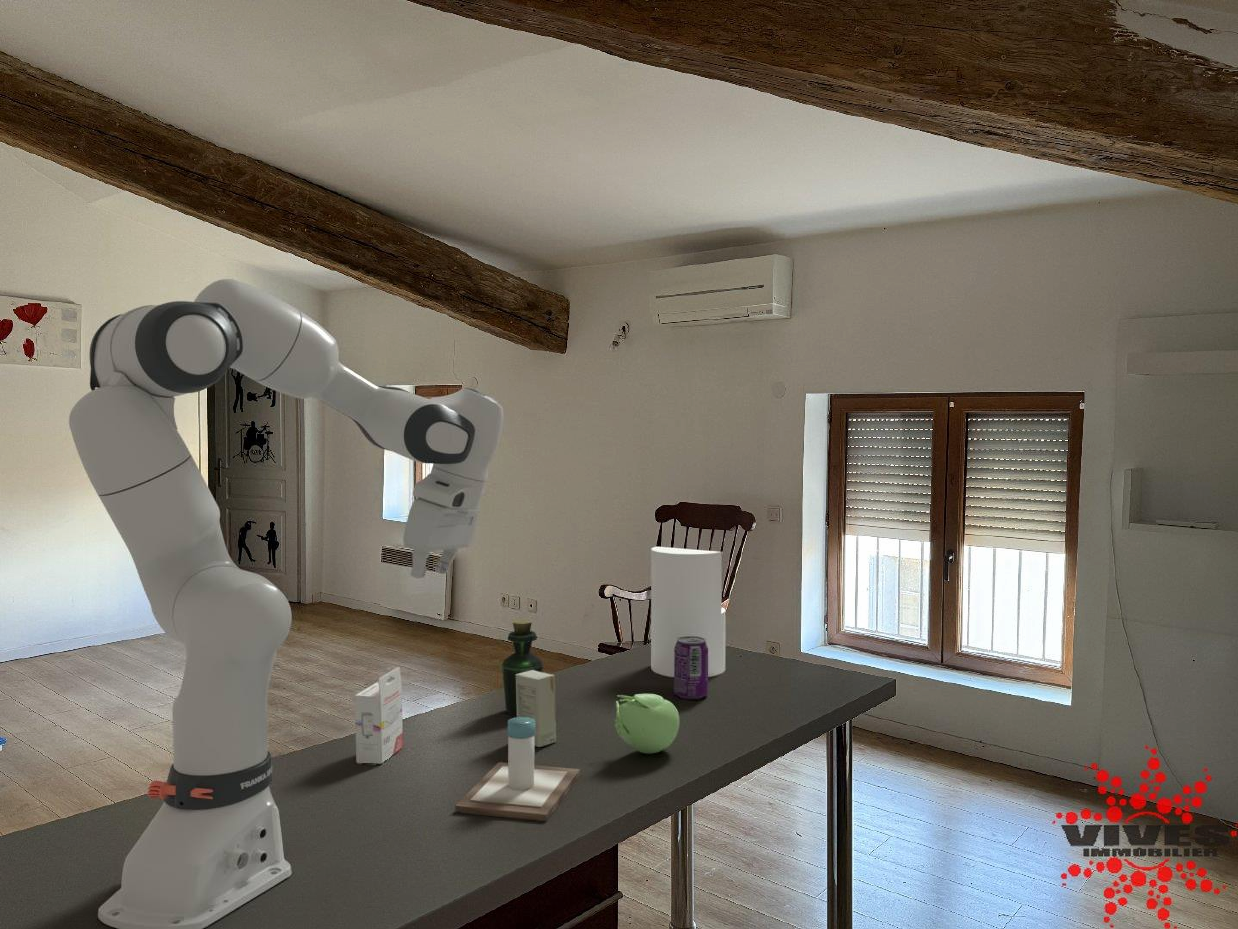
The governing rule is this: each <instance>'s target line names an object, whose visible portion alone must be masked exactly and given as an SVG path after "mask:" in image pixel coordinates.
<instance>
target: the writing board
mask: <svg viewBox="0 0 1238 929" xmlns="http://www.w3.org/2000/svg"><path fill="white" fill-rule="evenodd" d="M580 776H581V769H580V768H579V769H578V768H568V767H559V766H545V765H535V764H534V786H533V787H532V788H530V789H527V790H514V789H511V788H509V787H508V762H500V761H498V762H497V763H496V764H495V765H494V766H493V767H492V768H491V769H490V770H489V771H488V772H487V773H486V774H485V775H484V776H483V777H482V778H481V779H480V781H478V782H477V783H476V784H475V785H474V786H473V787H472V789H470V791H469V792H467V794H465V795H464V796H463V798H461V799H460V800H459V801H458V803H457V804H455V806H454V807H455V810H454V812H455V813H457V812H460V813H459V814H467V815H477V816H488V817H498V818H500V817H501V818H510V819H517V820H527V821H528V820H531V821H538V822H539V821H541V822H547V821H548V820H549V819H550V818H551V816H552V815H553V813H554V812H555V811H556V809H557V808H558V807H559V805H560V804H561V802H562V801H563V799H564V798H565V797H566V795H567V794H568V793H569V792H570V789H572V787H573V786H574V785H575V783H576V782H577V780H578V779H579V778H580ZM468 813H469V814H468Z"/></svg>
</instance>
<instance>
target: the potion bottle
mask: <svg viewBox="0 0 1238 929" xmlns="http://www.w3.org/2000/svg"><path fill="white" fill-rule="evenodd" d="M532 623H533V621H532V620H530V619H516V620H512V625H513V629H514V630H513V631H510V632H508V636H507V641H508V642H512V645H513V648H514V652H513V653H512V654H509V656H507V657H506V658H504V659H503V662H502V663H501V668H502V670H501V671H502V681H503V690H504V700H505V702H504V703H505V711H506V713H507V714H508V715H510V716H515V717H517V706H516V674H519V673H523V672H527V671H531V670H535V671H539V672H543V671H544V670H543V668H544V663H543V661H542V659H541V658H540V657H539V656H537V655H536V654H534V653H532V652H530V651H531V648H532V645H533V644H532V643H533V642H534V641H536V640H537V639H538V636H537V633H536V632H535V631H533V630H532V629H531V628H532ZM543 673H544V672H543Z"/></svg>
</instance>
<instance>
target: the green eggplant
mask: <svg viewBox="0 0 1238 929" xmlns="http://www.w3.org/2000/svg"><path fill="white" fill-rule="evenodd" d="M616 696H617V698H621V699H619V700H616V701H615V708H616V719H614V721H615V723H614V728H615V730H616V731H617V734H618V735H619V737H620V738H621V739H622V740H623V741H624V742H626V744H628V745H630V746H633V748H634V750H636V751H638V752H639V753H642V754H643V753H644V754H656V753H660V752H661V751H664V750H665V749H667V748H668V747H670V745H671V744H672V743H673V742H674V741H675V738H676V737H677V736H678V732H679V729H680V715H679V714H680V713H679V712H678V709H677V708H676V706H675V705H674V704H673V703H672V702H671V701H669V700H668V699H665V698H664V697H663V696H661V695H658V694H655V693H637V694H634V695H633V696H629V695H624V694H620V695H619V694H617V695H616ZM625 701H626V702H625ZM619 702H624V703H622V704H619Z"/></svg>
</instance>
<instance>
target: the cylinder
mask: <svg viewBox="0 0 1238 929" xmlns="http://www.w3.org/2000/svg"><path fill="white" fill-rule="evenodd" d="M650 552H651V553H650V557H651V558H650V561H651V562H650V568H651V569H650V571H651V572H650V580H651V581H650V582H651V583H650V585H651V586H650V587H651V588H650V589H651V590H650V601H651V602H650V605H651V606H650V668H651V670H652V671H653V672H654V673H655V674H659V675H661V676H665V677H670V678H674V647H675V645H676V643H677V638H679V637H683V636H697V637H702V638H705V639H706V644H707V647H708V678H710V677H715V676H719V675H721V674H723V673H725V671H726V608H724V607H722V603H723V602H722V599H723V598H722V595H723V594H722V589H723V587H722V582H723V581H722V576H723V575H722V573H723V572H722V571H723V570H722V569H723V568H722V564H723V563H722V559H723V558H722V556H723V555H722V554H723V552H722V551H716V550H706V549H705V550H704V549H690V548H681V547H680V548H679V547H669V546H668V547H666V546H654V547H652V548H651V549H650Z"/></svg>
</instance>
